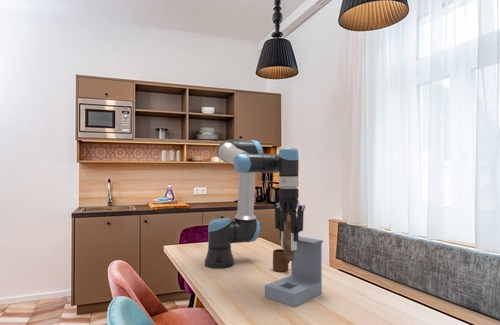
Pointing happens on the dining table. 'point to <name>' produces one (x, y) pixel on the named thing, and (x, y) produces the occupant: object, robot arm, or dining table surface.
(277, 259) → the mug
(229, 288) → the dining table surface
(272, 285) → the socket station
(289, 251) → the peg
